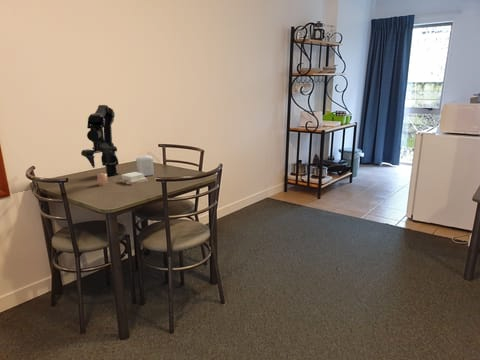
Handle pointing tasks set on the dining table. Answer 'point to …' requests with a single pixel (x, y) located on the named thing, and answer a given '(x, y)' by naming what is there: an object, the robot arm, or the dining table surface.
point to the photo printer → (145, 165)
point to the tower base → (133, 181)
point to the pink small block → (102, 179)
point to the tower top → (132, 176)
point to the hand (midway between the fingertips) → (101, 166)
